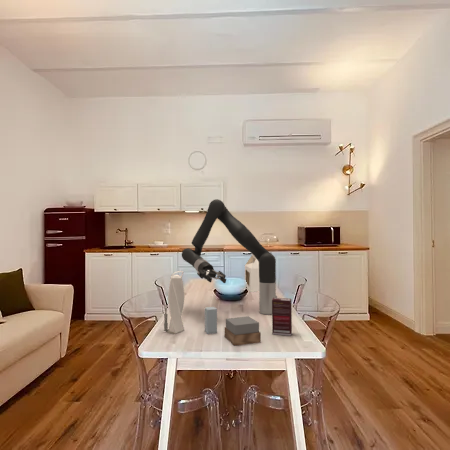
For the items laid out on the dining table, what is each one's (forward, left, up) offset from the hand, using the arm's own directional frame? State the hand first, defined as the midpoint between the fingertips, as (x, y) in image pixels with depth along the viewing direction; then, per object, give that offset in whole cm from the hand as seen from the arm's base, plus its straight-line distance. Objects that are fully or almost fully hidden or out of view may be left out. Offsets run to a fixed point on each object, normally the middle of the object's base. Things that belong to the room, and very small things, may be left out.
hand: (218, 281), depth 168 cm
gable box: (-55, -77, -22) cm, 97 cm away
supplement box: (-23, +22, -22) cm, 39 cm away
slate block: (+7, +9, -22) cm, 25 cm away
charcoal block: (-3, +23, -18) cm, 29 cm away
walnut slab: (-3, +23, -22) cm, 32 cm away
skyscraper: (+22, +2, -22) cm, 31 cm away
